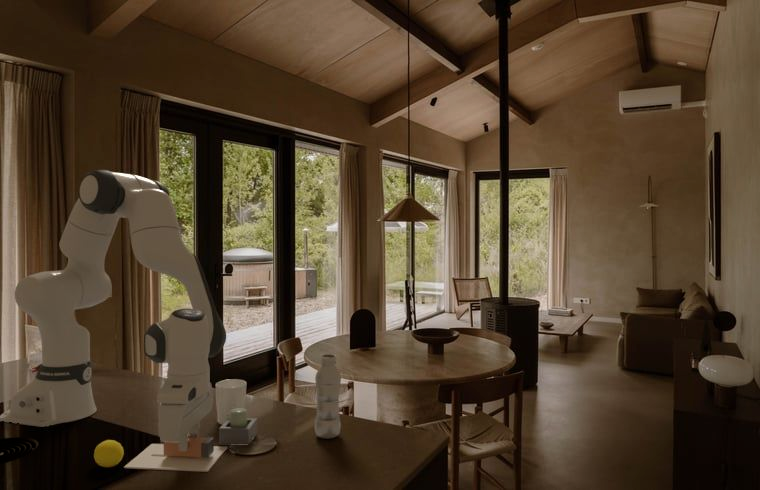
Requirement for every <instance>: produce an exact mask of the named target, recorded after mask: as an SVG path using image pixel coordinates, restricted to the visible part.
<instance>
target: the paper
mask: <svg viewBox="0 0 760 490" xmlns="http://www.w3.org/2000/svg"><path fill="white" fill-rule="evenodd" d="M227 449H228V446H221V445H219V446H217V445H216V446H215V445H214V452H213V453H212V454H211V455H210V456H209V457H188V456H164V443H151V444H149V446H147V447H146V448H145V449H144V450H143V451H141V452H140V453H139V454H138V455H137V456H135V457H134V458H132V459H131V460H130V461H129V462H127V464H125V466H123V468H124V469H133V470H134V469H135V470H156V471H158V470H161V471H178V472H180V471H182V472H183V471H184V472H201V473H203V472H205V473H206V472H207V473H208V472H209V471H210V470H211V468H213V466H214V465H216V463H217V461H218V460H219V459H220V457H222V455H223V454H224V453H225V451H226V450H227Z"/></svg>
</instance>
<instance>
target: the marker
mask: <svg viewBox="0 0 760 490" xmlns="http://www.w3.org/2000/svg"><path fill="white" fill-rule="evenodd" d="M187 439H188V441H190V444H189V446H190V447H189V449H188V450H187V451H179V443H178V441H177V442H163V444H164V456H188V457H209V456H210V455H211V454H212V453H213V452H214V446H215V445H214V444H215V443H214V442H215V441H214V440H215V439H214V437H198V438H193V437H187Z"/></svg>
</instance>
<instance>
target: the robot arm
mask: <svg viewBox="0 0 760 490" xmlns="http://www.w3.org/2000/svg"><path fill="white" fill-rule="evenodd" d="M121 218H122V219H126V218H127V220H128V224H129V226H128V227H129V235H130V243H131V249H132V252H133V255H134V257H135V259H136V260H137V262H138V263H140V265H142V266H143V267H145V268H147V269H148V270H150V271H153V272H155V273H160V274H162V275H166V276H169V277H171V278H174V279H175V280H177V281H179V283H180V284H182V285H183V286H184V288H185V290H186V292H187V296H188V298H189V303H190V305H191V307H192V308H179V309H176V310H173V311H172V312H171V313H169V317H168V318H166V319H164V320H160V321H157V322H154V323H152V324H151V325H150V326H149V327H148V328H147V330H146V331H145V333H144V335H143V336H144V337H143V351H144V355H145V356H146V357H147V358H148V359H149V360H150V361H152V362H154V363H156V364H167V365H168V368H167V370H166V379H165V381H164V383H163V385H162V386H161V388H160V389H159V391H158V392H157V395H156V402H157V404H160V405H159V408H158V423H157V424H158V435H159V438H160V440H161V441H162V442H163V443H164V442H177V441H178V443H179V451H187V450H188V449H189V447H190V446H189V444H190V441H188V439H187V437H193V438H199V436H198V435H199V430H200V427H201V421H202V419H204V418H205V417H206V416H207V415H209V414H210V413H211V411H212V410H213V405H214V399H213V387H212V386H213V385H212V382H210V375H211V374H210V372H211V371H210V370H211V369H210V368H211V367H210V363H209V358H214V357H216V356H217V355H218V354H219V353H220V352H221V350H222V349H223V347H224V346H225V344H226V341H227V330H226V328H225V326H224V324H223V322H222V319H221V318H220V315H219V314H218V312H217V311H218V310H217V308H216V306H215V305H216V304H215V303H214V299H213V297H212V293H211V291H210V287H209V285H208V281H207V279H206V275H205V272H204V270H203V267H202V264H201V262H200V260H199V258H198V256H197V255H195V254H194V253H193V252H191V251H190V250H189V249H188V246H186V244H185V243H184V241H183V238H182V236H181V231H180V224H179V221H178V220H179V219H178V215H177V211H176V209H175V205H174V203H173V201H172V198H171V195H170V191H169V189H168V187H166V185H164V184H163V183H161V182H159V181H158V180H154V179H152V178H151V179H150V178H146V177H144V176H140V175H137V174H133V173H123V172H115V171H110V170H107V169H98V170H97V169H96V170H95V169H94V170H91V171H89V172H86V174H85V175H84V176H83V177H82V179H81V181H80V182H79V185H78V199H77V200H76V202H75V204H74V206H73V208H72V210H71V212H70V214H69V217H68V220H67V222H66V225H65V228H64V230H63V231H62V232H63V233H62V234H61V238H60V240H59V243H58V244H59V250H60V251H61V253H62V254H63V255H64V256H65V257H66V258H67V265H66V267H65V268H64V269H60V270H50V271H49V270H48V271H47V270H46V271H40V272H37V273H33V274H31V275H28V276H25V277H23V278H21V279H20V280H19V281H18V283H17V285H16V287H15V290H14V299H15V303H16V305H17V306H18V308H19V309H20V310H21V311H22V312H24V313H25V314H27V315H28V316H30V317H31V319H32V320H33V321H34V323H35V324H36V325H37V329H38V330H39V333H40V334H39V335H40V338H41V340H40V341H41V364H39V365H37V366H34V367H32V368H31V370H32V371H31V374H32V373H36V374H35V378H33V379H32V380H30V381H29V382H28V383H27V384H25V385H24V386H23V387H22V388H20V389H19V390H17V391H16V392H15V393H14V394H13V396H12V397H11V400H10V406H9V409H7V410H6V411H5V412H2V414H0V422H2V421H4V422H3V423H9V422H12V423H11V424H17V423H19V424H18V425H24V426H25V425H26V426H32V427H33V426H34V427H43V428H45V426H46V427H50V425H51V426H53V425H58V424H63V423H70V422H75V421H78V420H82V419H84V418H88V417H90V416H92V415H94V414H95V413H96V412H97V406H96V404H95V399H94V395H93V389H92V377H93V376H92V374H93V372H92V371H93V366H92V365H93V363H92V358H90V357H91V335H90V331H89V330H88V328H86V327H85V326H83V325H81V324H79V323H78V321H77V319H76V316H75V315H76V314H75V310H80V309H81V310H82V309H87V308H91V307H94V306H96V305H98V304H101V303H103V302H105V301H106V300H107V299H109V298H110V296H111V293H112V288H113V287H112V281H111V278H110V276H109V275H108V274H107V273H106V270H105V260H106V255H107V254H108V249H109V247H110V244H111V241H112V238H113V236H114V235H115V234H114V233H115V231H116V228H117V227H118V222H119V221H120V219H121Z"/></svg>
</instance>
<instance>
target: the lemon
mask: <svg viewBox="0 0 760 490" xmlns="http://www.w3.org/2000/svg"><path fill="white" fill-rule="evenodd" d="M124 451H125V450H124V447H123V446H122V444H121V443H120V442H118V441H116V440H113V439H106V440H104V441H102V442H100V443H99V444H98V445H96V447H95V449H94V453H93V458H94V460H95V463H96V464H97V465H98V466H99V467H103V468H112V467H115V466H117V465H118V464H119V463H120V462H121V461H122V460H123V457H124V455H125V452H124Z"/></svg>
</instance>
